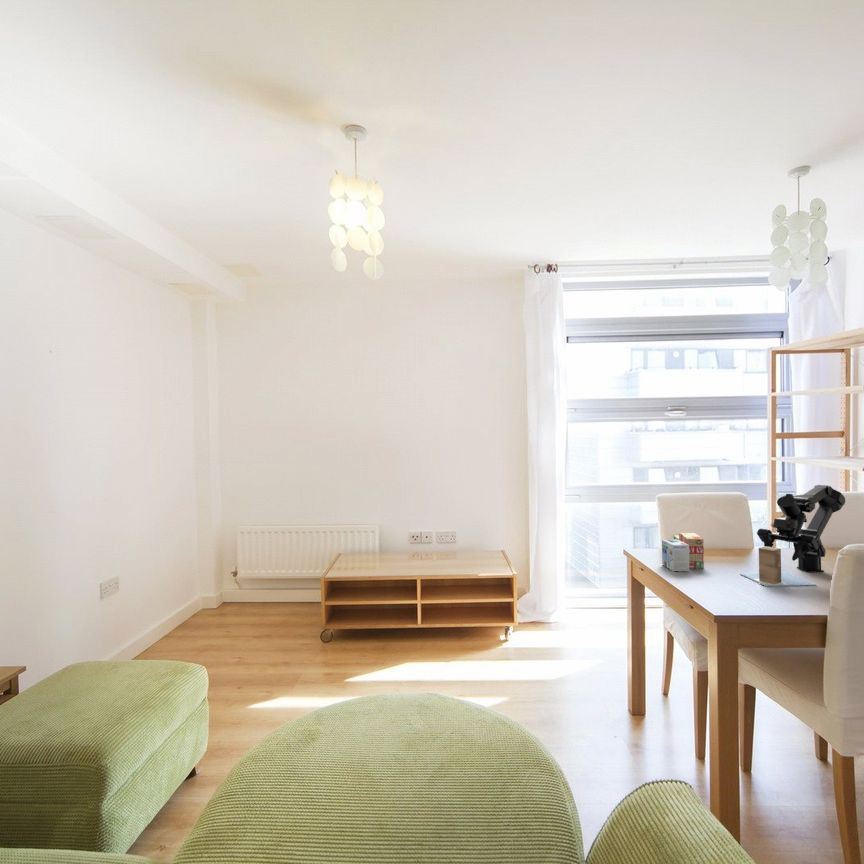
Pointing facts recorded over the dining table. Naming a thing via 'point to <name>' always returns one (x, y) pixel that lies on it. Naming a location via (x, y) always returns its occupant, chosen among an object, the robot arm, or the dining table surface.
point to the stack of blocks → (693, 548)
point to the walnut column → (770, 565)
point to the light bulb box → (675, 555)
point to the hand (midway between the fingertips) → (778, 557)
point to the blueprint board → (785, 580)
